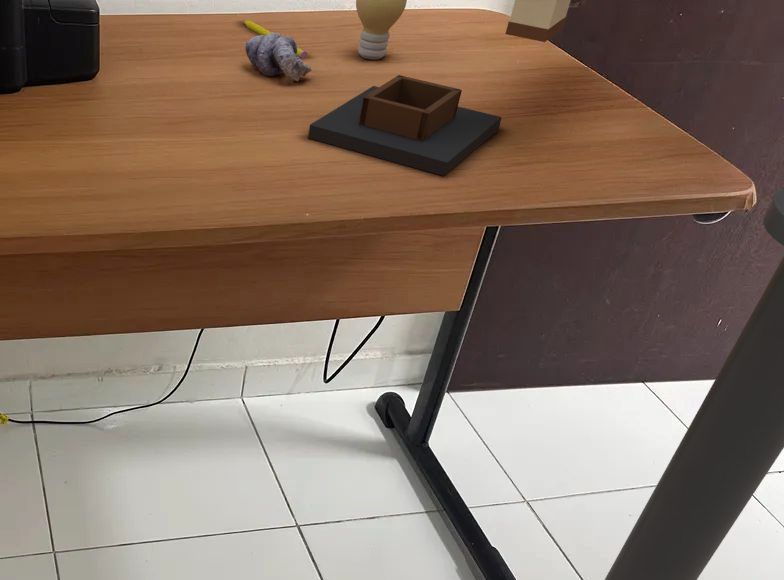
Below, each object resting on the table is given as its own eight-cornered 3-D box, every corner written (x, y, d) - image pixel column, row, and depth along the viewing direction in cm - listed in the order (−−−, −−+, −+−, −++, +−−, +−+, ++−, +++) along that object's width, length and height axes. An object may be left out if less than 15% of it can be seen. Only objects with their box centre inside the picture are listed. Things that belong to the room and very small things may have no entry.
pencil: (306, 58, 121) (307, 51, 120) (300, 59, 120) (301, 51, 120) (246, 24, 131) (246, 16, 131) (240, 24, 131) (241, 17, 130)
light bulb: (363, 66, 118) (378, -18, 111) (338, 51, 122) (351, -31, 115) (404, 61, 120) (421, -22, 113) (378, 47, 124) (393, -34, 117)
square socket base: (498, 130, 102) (510, 89, 99) (443, 176, 93) (454, 133, 90) (371, 98, 109) (378, 59, 106) (307, 138, 100) (313, 96, 97)
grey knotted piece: (306, 93, 114) (245, 75, 119) (326, 52, 112) (264, 36, 118) (288, 73, 109) (226, 56, 114) (308, 30, 108) (245, 15, 113)
